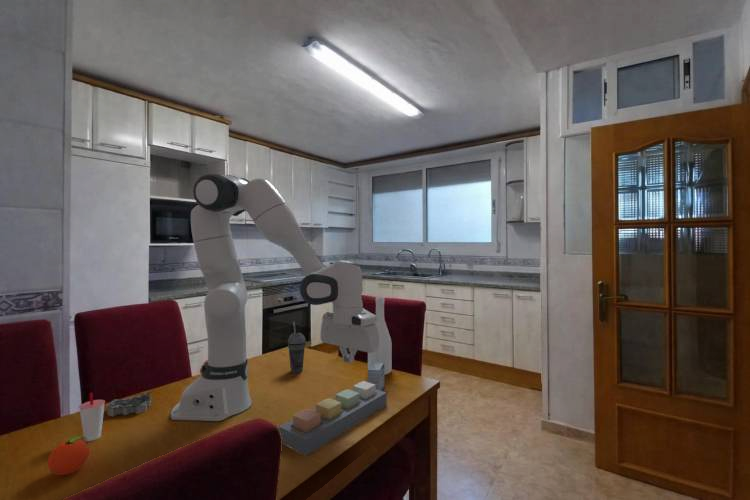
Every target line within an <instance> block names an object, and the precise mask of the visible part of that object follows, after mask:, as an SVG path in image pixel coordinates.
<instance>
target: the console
mask: <svg viewBox="0 0 750 500" xmlns="http://www.w3.org/2000/svg"><path fill="white" fill-rule="evenodd" d="M350 390H351V391H353V389H350ZM387 393H388V392H386V391H380V390H377V389H376V394H375V395H373V396H372V397H370V398H368V399H363V398H360V397H359V404H357V405H356V406H354V407H352V408H350V409H346V408H343V407H341V414H340V415H338V416H336V417H334V418H332V419H331V420H326V419H324V418H321V425H320V426H318V427H316V428H315V429H313V430H311V431H309V432H307V433H304V432H302V431H300V430H298V429H296V428H294V427H293V419H292V420H290V421H287V422H285V423H283V424H281V425H279V426H278V432H279V431H280V433H281V437H282V443H281V444H282V445H284V444H286V445H288V446H290V447H292V448H293V449H295V450H297V451H298V452H297V451H296V452H297V453H299V452H300V453H299V454H301V453H302V454H303V455H302V454H301V455H302V456H304V455H305V457H307V456H308V455H309V453H310V454H311V453H313V452H314V451H316V450H317V449H319V448H321V447H322V446H324V445H326V444H327V443H329V442H330V441H331V440H333V439H334V438H336V437H338V436H339V435H341V434H342V433H344V432H346V431H348V430H349V429H351V428H353V427H354V426H356V425H357V424H359V423H360V422H362V421H364V420H365V419H367V418H369V417H370V416H371V415H374V414H375V413H376V412H378V411H379V410H381V409H383V408H384V407H386V406H387V404H388V403H387V399H388V398H387V397H388V396H387ZM333 400H336V397H335V398H333ZM312 410H313V411H316V407H315V408H313V409H312ZM286 445H285V446H286ZM293 449H292V450H293ZM295 450H294V451H295ZM307 454H308V455H307Z"/></svg>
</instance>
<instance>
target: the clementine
mask: <svg viewBox="0 0 750 500" xmlns="http://www.w3.org/2000/svg"><path fill="white" fill-rule="evenodd" d="M81 438H83V439H84V438H85V439H86V440H87V438H86V437H84V436H75V437H73V438H72V437H71V438H70V439H67V440H64V441H63V442H61V443H59V444H58V445H57V446H55V448H54V449H53V450H52V451H51V453H50V454H49V457H48V459H47V466H48V469H49V470H50V472H51V473H53V474H55V475H57V476H58V475H59V476H66V475H71V474H72V473H74V472H77V471H78V470H79V469H80V468H82V466H84V464H85V463H86V462H87V460H88V458H89V455H90V447H89V445H88V444H87V442H86V441H84V440H83V439H81Z"/></svg>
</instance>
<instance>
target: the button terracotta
mask: <svg viewBox="0 0 750 500" xmlns="http://www.w3.org/2000/svg"><path fill="white" fill-rule="evenodd" d="M292 420H293V427H294V428H296V429H298V430H300V431H302V432H304V433H307V432H309V431H311V430H313V429H315V428H316V427H318V426H320V425H321V413H318V412H316V411H313V409H310V408H309V407H308V408H304V409H302V410H301V411H299V412H297V413H295V414H293V415H292Z"/></svg>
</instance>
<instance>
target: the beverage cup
mask: <svg viewBox="0 0 750 500" xmlns="http://www.w3.org/2000/svg"><path fill="white" fill-rule="evenodd" d="M293 331H294V332H293V333H291V334H290V335H289V337H288V339H287V347H288V353H289V355H288V356H289V365H290V366H289V367H290V372H291V373H292V372H293V373H292V374H299V372H300V373H302V372H303V367H304V360H305V359H304V358H305V357H304V356H305V347H306V343H307V341H306V337H305V335H304V334H303V333H301V332H299V331H296V323H295V321H293Z"/></svg>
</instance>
